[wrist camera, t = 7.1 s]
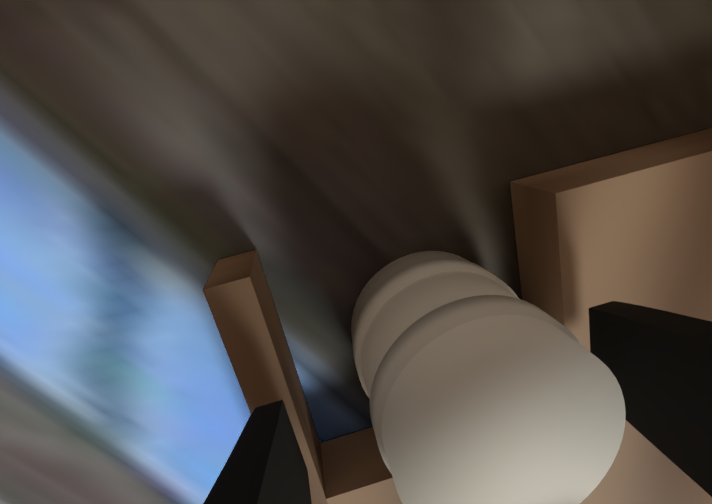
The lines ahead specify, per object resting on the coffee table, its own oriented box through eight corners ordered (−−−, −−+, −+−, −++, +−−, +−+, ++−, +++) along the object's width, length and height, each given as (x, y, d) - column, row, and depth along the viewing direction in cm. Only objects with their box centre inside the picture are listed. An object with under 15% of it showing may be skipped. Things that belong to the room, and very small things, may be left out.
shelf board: (769, 112, 12) (862, 109, 10) (732, 474, 16) (791, 520, 14) (218, 259, 10) (203, 289, 9) (345, 607, 15) (354, 677, 13)
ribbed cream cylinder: (487, 227, 11) (627, 300, 7) (506, 363, 13) (632, 500, 8) (329, 274, 11) (359, 385, 6) (367, 407, 13) (416, 577, 8)
